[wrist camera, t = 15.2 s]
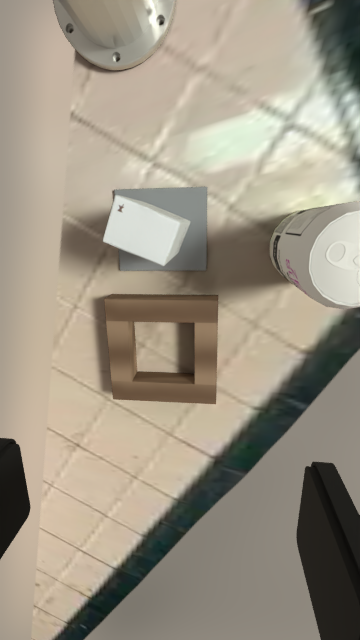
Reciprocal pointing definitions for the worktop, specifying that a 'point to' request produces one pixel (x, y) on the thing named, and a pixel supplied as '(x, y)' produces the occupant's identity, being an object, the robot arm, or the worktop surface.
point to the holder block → (158, 384)
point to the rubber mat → (185, 205)
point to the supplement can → (321, 253)
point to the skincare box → (145, 230)
